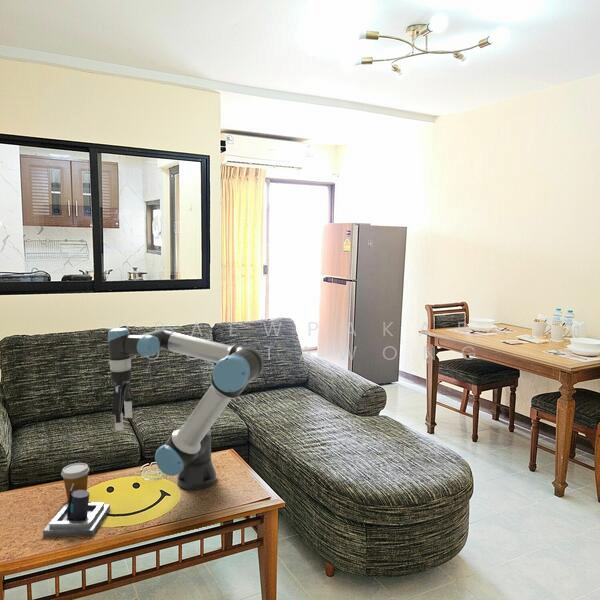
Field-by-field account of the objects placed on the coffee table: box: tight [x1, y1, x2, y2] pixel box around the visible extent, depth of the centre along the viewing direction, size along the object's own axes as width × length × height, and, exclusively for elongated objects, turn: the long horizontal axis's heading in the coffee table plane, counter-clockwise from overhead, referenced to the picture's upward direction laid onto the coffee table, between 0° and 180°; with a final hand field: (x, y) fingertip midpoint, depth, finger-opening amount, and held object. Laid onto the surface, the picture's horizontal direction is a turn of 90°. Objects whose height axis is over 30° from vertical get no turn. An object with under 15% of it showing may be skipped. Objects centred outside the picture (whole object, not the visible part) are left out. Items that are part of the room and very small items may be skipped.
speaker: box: [67, 484, 90, 520], centre depth 173 cm, size 8×6×10 cm
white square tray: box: [42, 502, 111, 537], centre depth 174 cm, size 16×16×4 cm
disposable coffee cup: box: [60, 462, 90, 503], centre depth 189 cm, size 10×10×12 cm
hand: (124, 423), depth 195 cm, fingers open, 13 cm apart
